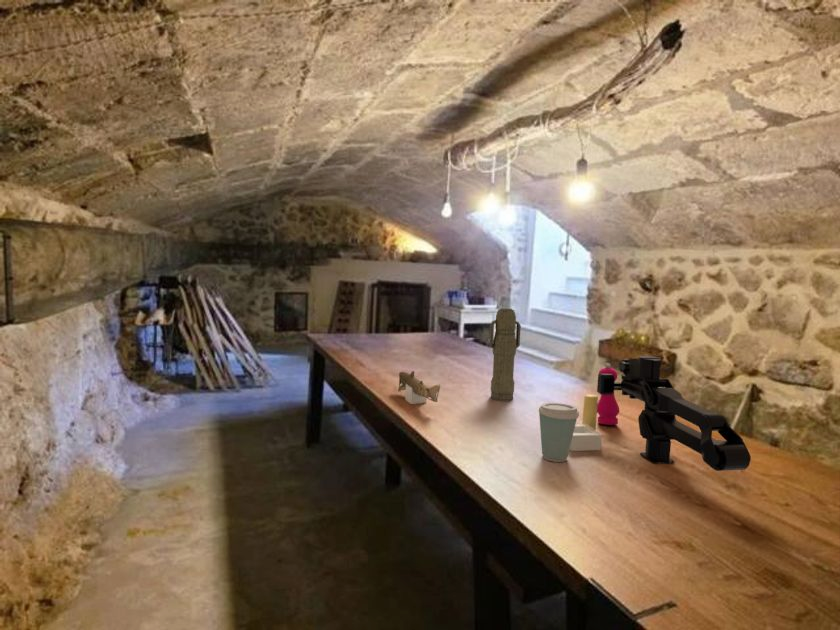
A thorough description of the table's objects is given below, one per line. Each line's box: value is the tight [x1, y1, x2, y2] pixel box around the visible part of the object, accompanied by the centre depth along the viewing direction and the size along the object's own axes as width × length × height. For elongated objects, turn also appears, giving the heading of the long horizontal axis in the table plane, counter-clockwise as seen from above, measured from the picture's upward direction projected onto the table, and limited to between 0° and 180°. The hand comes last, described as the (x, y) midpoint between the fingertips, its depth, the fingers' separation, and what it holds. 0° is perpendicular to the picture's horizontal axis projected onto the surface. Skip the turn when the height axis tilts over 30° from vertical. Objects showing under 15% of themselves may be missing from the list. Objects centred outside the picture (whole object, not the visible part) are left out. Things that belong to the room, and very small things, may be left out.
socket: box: [569, 423, 603, 452], centre depth 146 cm, size 9×9×4 cm
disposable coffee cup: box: [538, 402, 580, 463], centre depth 135 cm, size 11×11×15 cm
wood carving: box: [397, 370, 441, 405], centre depth 182 cm, size 9×35×11 cm, turn 23°
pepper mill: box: [597, 362, 620, 426], centre depth 165 cm, size 7×7×20 cm
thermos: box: [489, 307, 522, 402], centre depth 191 cm, size 9×12×35 cm
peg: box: [581, 394, 599, 431], centre depth 153 cm, size 4×4×12 cm
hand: (613, 378), depth 159 cm, fingers open, 9 cm apart
